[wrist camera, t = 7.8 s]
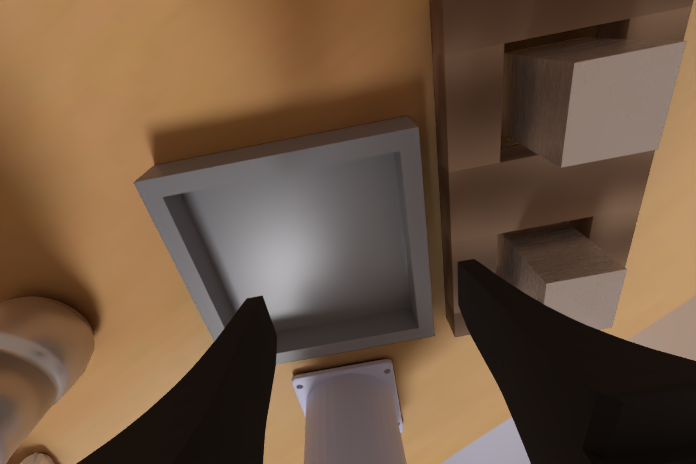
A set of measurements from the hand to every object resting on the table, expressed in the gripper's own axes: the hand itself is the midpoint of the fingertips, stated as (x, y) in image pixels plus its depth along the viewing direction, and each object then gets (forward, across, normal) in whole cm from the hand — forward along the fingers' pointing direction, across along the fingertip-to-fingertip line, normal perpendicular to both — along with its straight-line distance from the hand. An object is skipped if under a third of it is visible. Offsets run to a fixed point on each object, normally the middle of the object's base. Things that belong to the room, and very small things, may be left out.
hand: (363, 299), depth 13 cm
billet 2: (+9, -11, +6) cm, 16 cm away
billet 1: (+9, -11, -4) cm, 15 cm away
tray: (+9, +3, +3) cm, 10 cm away
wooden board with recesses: (+9, -11, +1) cm, 14 cm away
